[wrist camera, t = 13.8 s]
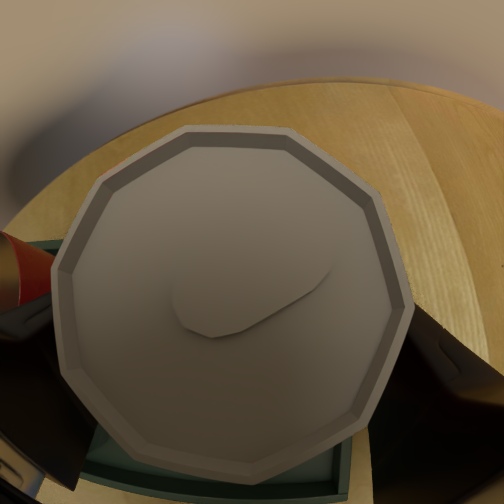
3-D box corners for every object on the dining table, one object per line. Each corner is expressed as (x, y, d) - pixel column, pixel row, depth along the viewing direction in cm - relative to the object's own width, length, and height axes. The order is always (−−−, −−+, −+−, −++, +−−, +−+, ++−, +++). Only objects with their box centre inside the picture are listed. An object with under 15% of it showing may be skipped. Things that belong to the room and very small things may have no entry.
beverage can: (344, 343, 15) (505, 348, 3) (234, 406, 14) (136, 546, 3) (283, 243, 16) (293, 54, 5) (177, 303, 16) (-1, 227, 4)
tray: (339, 483, 14) (347, 501, 12) (40, 447, 16) (21, 454, 13) (336, 238, 18) (345, 225, 16) (36, 251, 19) (16, 242, 17)
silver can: (109, 363, 17) (-57, 373, 5) (39, 352, 17) (-105, 342, 5) (112, 265, 18) (-37, 185, 7) (43, 266, 19) (-90, 208, 7)
